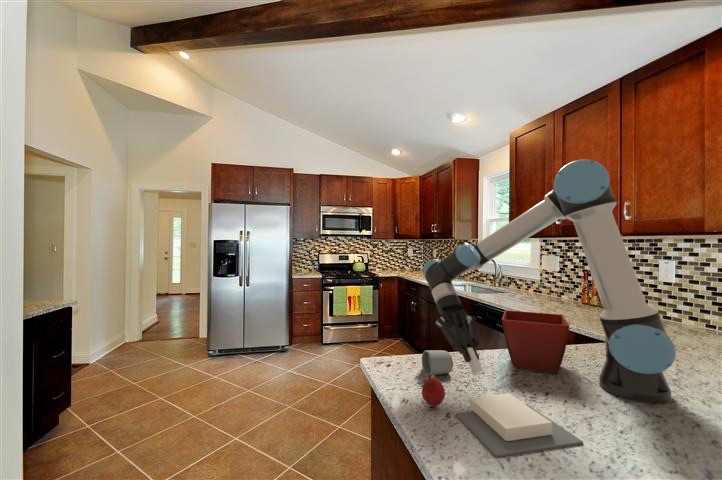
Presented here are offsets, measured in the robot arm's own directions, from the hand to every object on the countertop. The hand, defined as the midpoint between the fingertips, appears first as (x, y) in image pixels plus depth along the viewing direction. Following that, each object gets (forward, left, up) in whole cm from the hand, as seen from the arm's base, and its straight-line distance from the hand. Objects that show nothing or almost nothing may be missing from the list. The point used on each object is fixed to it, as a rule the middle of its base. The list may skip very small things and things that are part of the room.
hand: (477, 372), depth 84 cm
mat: (-9, +10, -7) cm, 16 cm away
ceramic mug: (+16, -14, -8) cm, 22 cm away
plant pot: (-14, -35, -8) cm, 39 cm away
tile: (-3, +3, -5) cm, 7 cm away
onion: (+10, +9, -8) cm, 15 cm away
